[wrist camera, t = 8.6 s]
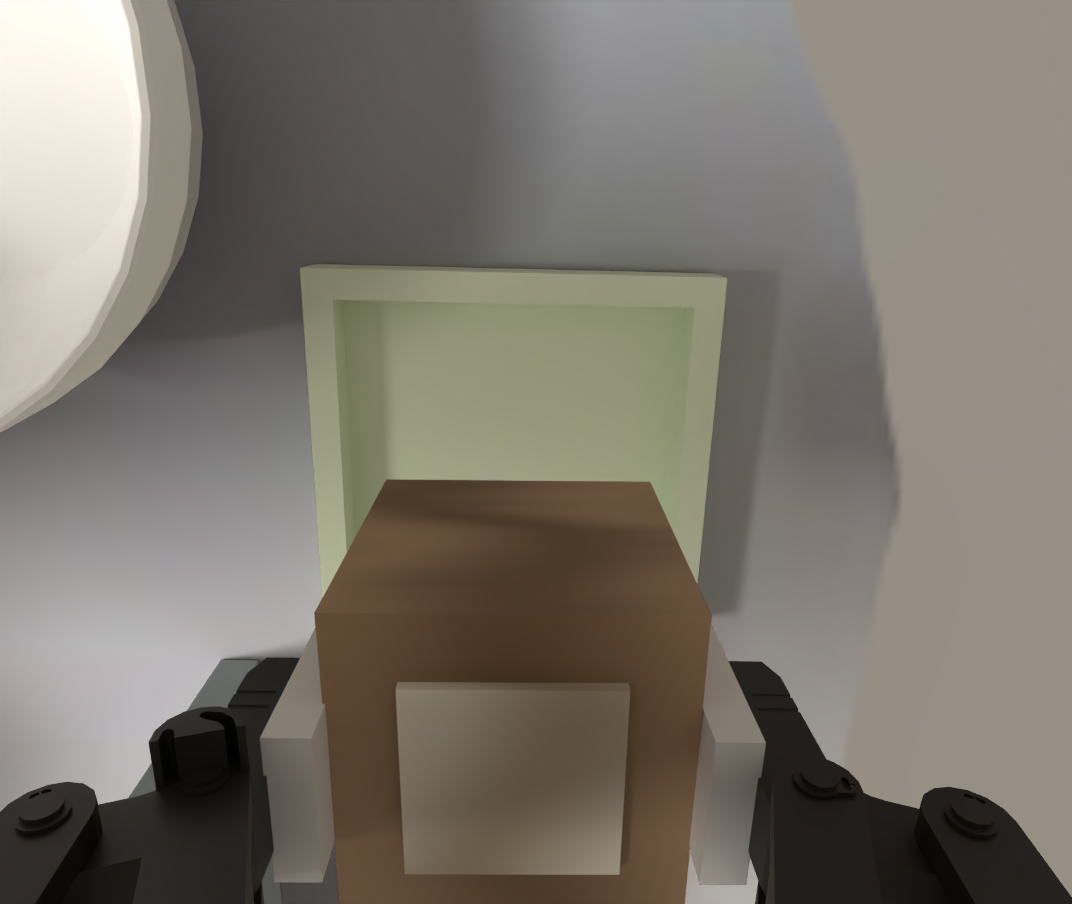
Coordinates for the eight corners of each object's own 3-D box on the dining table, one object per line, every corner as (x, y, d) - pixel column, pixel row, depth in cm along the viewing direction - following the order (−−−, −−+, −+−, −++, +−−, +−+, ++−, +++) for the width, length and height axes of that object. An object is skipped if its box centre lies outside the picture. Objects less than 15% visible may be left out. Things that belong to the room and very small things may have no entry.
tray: (337, 617, 30) (325, 646, 28) (316, 263, 26) (299, 267, 24) (679, 621, 31) (691, 649, 29) (711, 273, 27) (727, 277, 25)
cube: (397, 704, 19) (337, 929, 13) (386, 479, 17) (310, 619, 11) (636, 705, 19) (685, 929, 13) (650, 481, 17) (715, 622, 11)
